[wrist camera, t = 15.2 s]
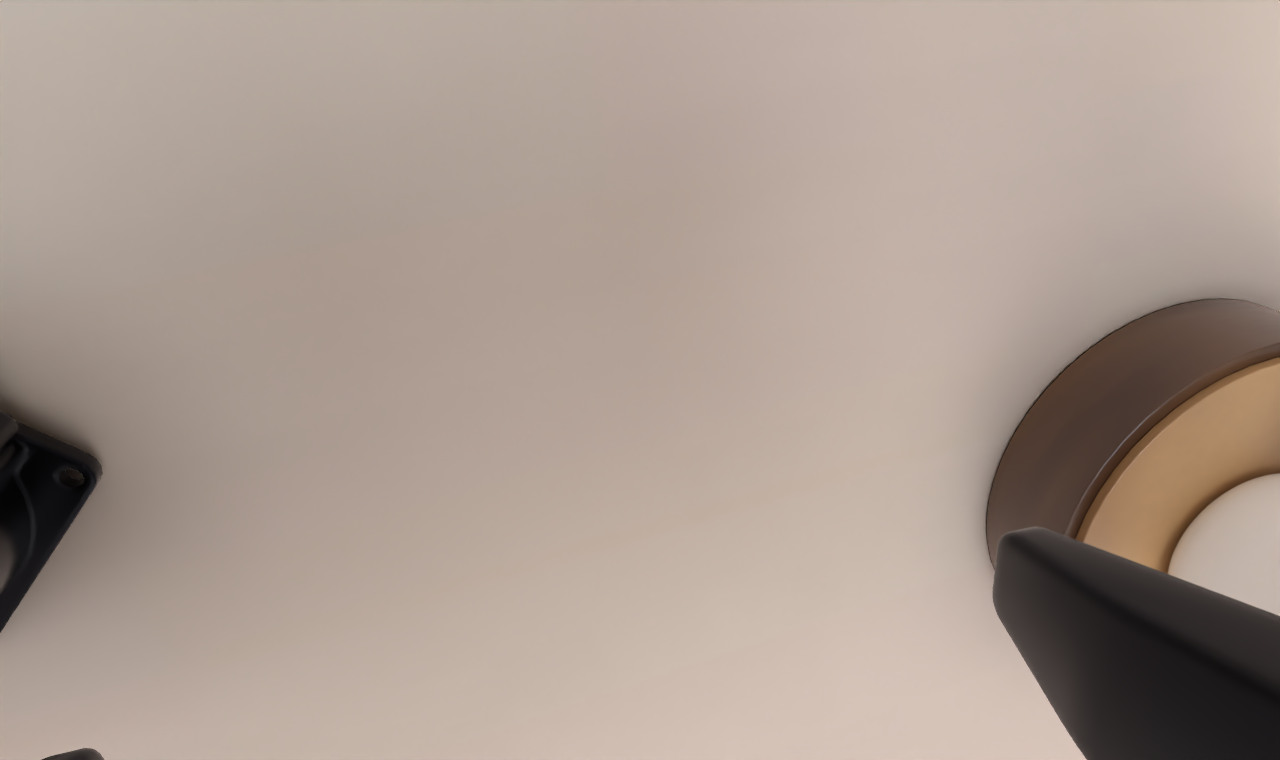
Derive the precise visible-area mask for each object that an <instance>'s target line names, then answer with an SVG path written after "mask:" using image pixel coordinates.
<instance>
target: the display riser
mask: <svg viewBox="0 0 1280 760" xmlns="http://www.w3.org/2000/svg"><path fill="white" fill-rule="evenodd" d="M1276 473H1280V312H1277V311H1275V310H1272V309H1269V308H1267V307H1264V306H1260V305H1257V304H1254V303H1251V302H1247V301H1239V300H1231V299H1214V300H1200V301H1195V302H1189V303H1183V304H1179V305H1176V306H1172V307H1169V308H1166V309H1163V310H1159V311H1156V312H1154V313H1152V314H1149V315H1147V316H1145V317H1143V318H1140V319H1138V320H1136V321H1134V322H1132V323H1130V324H1128V325H1126V326H1125V327H1123V328H1121V329H1119V330H1117V331H1116V332H1114V333H1112V334H1110V335H1109V336H1107V337H1106V338H1105V339H1103V340H1102V341H1100V342H1099V343H1097V344H1096V345H1095V346H1093V347H1092V348H1090V349H1089V350H1088V351H1086V352H1085V353H1084V354H1083V355H1082V356H1080V357H1079V358H1078V359H1077V360H1076V361H1075V362H1073V363H1072V364H1071V365H1070V366H1069V367H1068V368H1067V369H1065V370H1064V371H1063V372H1062V373H1061V375H1060V376H1059V377H1058V378H1057V379H1056V380H1055V381H1054V382H1053V383H1052V384H1051V385H1050V386H1049V387H1048V388H1047V389H1046V390H1045V391H1044V393H1043V394H1042V395H1041V397H1040V398H1039V399H1038V400H1037V402H1036V403H1035V404H1034V405H1033V407H1032V408H1031V409H1030V410H1029V412H1028V413H1027V415H1026V416H1025V418H1024V419H1023V421H1022V423H1021V424H1020V426H1019V427H1018V429H1017V430H1016V432H1015V433H1014V435H1013V437H1012V439H1011V441H1010V443H1009V445H1008V447H1007V449H1006V451H1005V453H1004V455H1003V457H1002V460H1001V463H1000V465H999V468H998V471H997V473H996V476H995V478H994V482H993V486H992V490H991V494H990V499H989V505H988V514H987V542H988V547H989V552H990V557H991V561H992V563H993V566H994V569H995V564H996V554H997V545H998V541H999V540H1000V538H1001V537H1002V535H1004V534H1006V533H1008V532H1012V531H1016V530H1021V529H1025V528H1029V527H1043V528H1046V529H1049V530H1052V531H1054V532H1057V533H1060V534H1062V535H1065V536H1068V537H1070V538H1073V539H1076V540H1078V541H1081V542H1084V543H1086V544H1089V545H1092V546H1094V547H1097V548H1100V549H1102V550H1105V551H1108V552H1110V553H1113V554H1116V555H1118V556H1121V557H1124V558H1126V559H1129V560H1132V561H1134V562H1137V563H1140V564H1142V565H1145V566H1148V567H1150V568H1153V569H1156V570H1158V571H1161V572H1164V573H1166V574H1168V568H1169V564H1170V560H1171V557H1172V554H1173V552H1174V550H1175V547H1176V545H1177V543H1178V542H1179V540H1180V538H1181V536H1182V535H1183V533H1184V532H1185V530H1186V529H1187V528H1188V526H1189V525H1190V524H1191V522H1192V521H1193V520H1194V519H1195V518H1196V517H1197V516H1198V515H1199V513H1200V512H1201V511H1202V510H1204V509H1205V508H1206V507H1207V506H1208V505H1209V504H1210V503H1211V502H1213V501H1214V500H1215V499H1216V498H1218V497H1219V496H1221V495H1222V494H1224V493H1225V492H1227V491H1228V490H1230V489H1232V488H1234V487H1235V486H1237V485H1239V484H1242V483H1244V482H1246V481H1248V480H1251V479H1254V478H1257V477H1260V476H1264V475H1269V474H1276Z"/></svg>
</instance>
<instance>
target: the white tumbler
mask: <svg viewBox="0 0 1280 760" xmlns="http://www.w3.org/2000/svg"><path fill="white" fill-rule="evenodd" d="M1168 574H1169V575H1172V576H1174V577H1177V578H1180V579H1182V580H1185V581H1188V582H1190V583H1193V584H1196V585H1198V586H1201V587H1204V588H1206V589H1209V590H1212V591H1214V592H1217V593H1220V594H1222V595H1225V596H1228V597H1230V598H1233V599H1236V600H1238V601H1241V602H1244V603H1246V604H1249V605H1252V606H1254V607H1257V608H1260V609H1262V610H1265V611H1268V612H1271V613H1273V614H1276V615H1279V616H1280V473H1276V474H1269V475H1264V476H1260V477H1257V478H1254V479H1251V480H1248V481H1246V482H1244V483H1242V484H1239V485H1237V486H1235V487H1234V488H1232V489H1230V490H1228V491H1227V492H1225V493H1224V494H1222V495H1221V496H1219V497H1218V498H1216V499H1215V500H1214V501H1213V502H1211V503H1210V504H1209V505H1208V506H1207V507H1206V508H1205V509H1204V510H1202V511H1201V512H1200V513H1199V515H1198V516H1197V517H1196V518H1195V519H1194V520H1193V521H1192V522H1191V524H1190V525H1189V526H1188V528H1187V529H1186V530H1185V532H1184V533H1183V535H1182V536H1181V538H1180V540H1179V542H1178V543H1177V545H1176V547H1175V550H1174V552H1173V554H1172V557H1171V560H1170V564H1169V568H1168Z"/></svg>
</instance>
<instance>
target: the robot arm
mask: <svg viewBox="0 0 1280 760" xmlns="http://www.w3.org/2000/svg"><path fill="white" fill-rule="evenodd" d="M66 469H74V470H77V471H79V472H80V473H81V474H82V475H83V477H84V479H80V480H78V479H74V478H71V477H70V476H69V475H67V473H66V471H65V470H66ZM101 476H102V468H101V465H100V463H99V462H98V461H97V459H96V458H94V457H93V456H91V455H90V454H88V453H86V452H84V451H81V450H79V449H77V448H75V447H72V446H70V445H68V444H66V443H64V442H61V441H59V440H57V439H55V438H53V437H50V436H48V435H46V434H44V433H41V432H39V431H37V430H35V429H33V428H30V427H28V426H26V425H24V424H21V423H19V422H17V421H15V420H14V419H13V418H12V416H10V415H8V414H6V413H4V412H2V411H0V633H1V631H2V629H3V628H4V626H5V625H6V623H7V622H8V620H9V619H10V617H11V616H12V614H13V613H14V611H15V610H16V608H17V607H18V605H19V603H20V602H21V600H22V599H23V597H24V596H25V594H26V593H27V591H28V590H29V588H30V587H31V585H32V584H33V582H34V580H35V579H36V577H37V576H38V574H39V573H40V571H41V570H42V568H43V567H44V565H45V564H46V562H47V561H48V559H49V557H50V556H51V554H52V553H53V551H54V550H55V548H56V547H57V545H58V544H59V542H60V541H61V539H62V538H63V536H64V534H65V533H66V531H67V530H68V528H69V527H70V525H71V524H72V522H73V521H74V519H75V518H76V516H77V515H78V513H79V511H80V510H81V508H82V507H83V505H84V504H85V502H86V501H87V499H88V498H89V496H90V495H91V493H92V492H93V490H94V488H95V487H96V485H97V484H98V482H99V481H100V479H101ZM993 601H994V606H995V609H996V612H997V614H998V616H999V618H1000V620H1001V622H1002V623H1003V625H1004V627H1005V628H1006V630H1007V632H1008V633H1009V635H1010V637H1011V638H1012V640H1013V642H1014V643H1015V645H1016V647H1017V648H1018V650H1019V652H1020V653H1021V655H1022V657H1023V658H1024V660H1025V662H1026V663H1027V665H1028V667H1029V668H1030V670H1031V672H1032V673H1033V675H1034V677H1035V678H1036V680H1037V682H1038V683H1039V685H1040V687H1041V688H1042V690H1043V692H1044V693H1045V695H1046V697H1047V698H1048V700H1049V702H1050V703H1051V705H1052V707H1053V708H1054V710H1055V712H1056V713H1057V715H1058V717H1059V718H1060V720H1061V722H1062V723H1063V725H1064V726H1065V728H1066V729H1067V731H1068V733H1069V734H1070V736H1071V737H1072V739H1073V740H1074V742H1075V743H1076V745H1077V746H1078V748H1079V749H1080V751H1081V752H1082V753H1083V755H1084V756H1085V758H1086V759H1087V760H1280V616H1279V615H1276V614H1273V613H1271V612H1268V611H1265V610H1262V609H1260V608H1257V607H1254V606H1252V605H1249V604H1246V603H1244V602H1241V601H1238V600H1236V599H1233V598H1230V597H1228V596H1225V595H1222V594H1220V593H1217V592H1214V591H1212V590H1209V589H1206V588H1204V587H1201V586H1198V585H1196V584H1193V583H1190V582H1188V581H1185V580H1182V579H1180V578H1177V577H1174V576H1172V575H1169V574H1166V573H1164V572H1161V571H1158V570H1156V569H1153V568H1150V567H1148V566H1145V565H1142V564H1140V563H1137V562H1134V561H1132V560H1129V559H1126V558H1124V557H1121V556H1118V555H1116V554H1113V553H1110V552H1108V551H1105V550H1102V549H1100V548H1097V547H1094V546H1092V545H1089V544H1086V543H1084V542H1081V541H1078V540H1076V539H1073V538H1070V537H1068V536H1065V535H1062V534H1060V533H1057V532H1054V531H1052V530H1049V529H1046V528H1043V527H1029V528H1025V529H1021V530H1016V531H1012V532H1008V533H1006V534H1004V535H1002V537H1001V538H1000V540H999V541H998V545H997V554H996V564H995V574H994V585H993ZM42 760H104V758H103V757H102V756H101V754H100V753H99V752H97V751H96V750H94V749H90V748H84V749H79V750H75V751H71V752H66V753H62V754H58V755H54V756H50V757H47V758H45V759H42Z"/></svg>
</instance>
